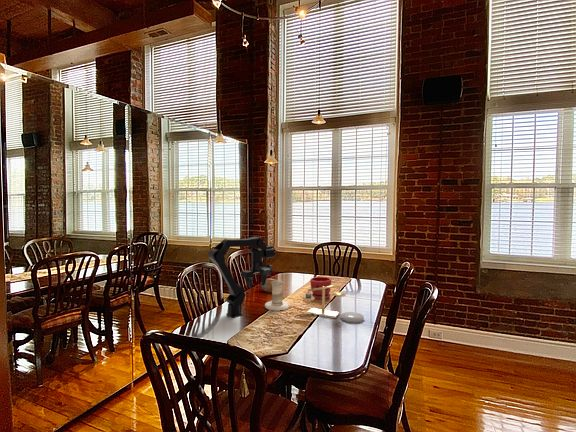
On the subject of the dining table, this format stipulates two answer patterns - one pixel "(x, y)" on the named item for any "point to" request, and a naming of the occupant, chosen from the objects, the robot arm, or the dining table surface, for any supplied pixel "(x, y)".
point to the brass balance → (323, 302)
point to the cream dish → (277, 308)
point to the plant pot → (318, 283)
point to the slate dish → (352, 317)
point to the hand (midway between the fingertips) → (257, 287)
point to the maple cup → (277, 293)
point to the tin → (268, 285)
